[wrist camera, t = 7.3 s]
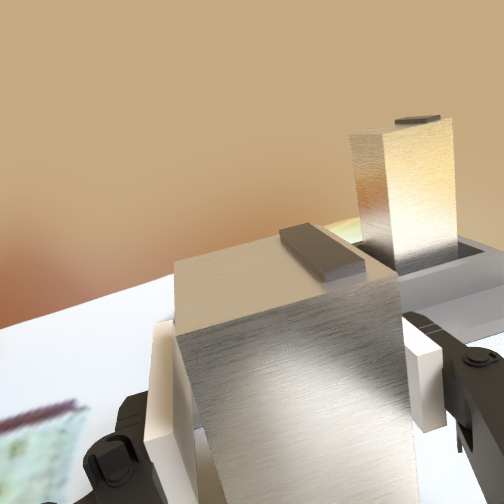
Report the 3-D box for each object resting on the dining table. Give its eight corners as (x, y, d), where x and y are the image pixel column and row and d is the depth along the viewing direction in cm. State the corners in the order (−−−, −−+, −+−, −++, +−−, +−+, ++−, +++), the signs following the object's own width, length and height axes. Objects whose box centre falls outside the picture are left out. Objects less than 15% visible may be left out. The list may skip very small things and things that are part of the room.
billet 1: (281, 676, 12) (171, 323, 8) (250, 523, 17) (171, 253, 13) (430, 616, 13) (396, 260, 9) (360, 484, 17) (317, 215, 13)
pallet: (186, 431, 22) (169, 381, 21) (180, 312, 38) (170, 278, 36) (553, 315, 25) (555, 266, 24) (411, 247, 40) (408, 215, 39)
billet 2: (398, 299, 29) (381, 129, 25) (367, 276, 34) (349, 130, 30) (459, 281, 30) (451, 112, 26) (420, 261, 35) (408, 116, 31)
